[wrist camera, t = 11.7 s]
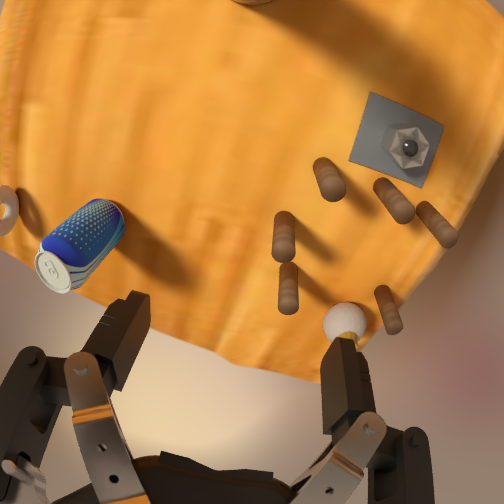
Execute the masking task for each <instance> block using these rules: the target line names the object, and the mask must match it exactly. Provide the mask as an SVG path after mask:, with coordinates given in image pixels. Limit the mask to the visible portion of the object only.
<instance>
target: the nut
mask: <svg viewBox="0 0 504 504" xmlns="http://www.w3.org/2000/svg"><path fill="white" fill-rule="evenodd" d="M380 145H381V147H382V148H383V149H384V150H385V152H386V153H387V154H388V156H389V157H390V158H391V159H392V161H393V162H395V163H396V164H397V165H399V166H400V167H401V168H402V169H405V168H411V167H417V166H422V165H423V163H424V160H425V157H426V155H427V152H428V149H429V146H430V145H429V143H428V142H427V140H426V139H425V137H424V136H423V134H422V133H421V132H420V130H419V129H418V127H415V126H413V125H410V124H407V123H401V124H394V125H387V126H386V129H385V132H384V135H383V138H382V141H381V144H380Z"/></svg>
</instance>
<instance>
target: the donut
mask: <svg viewBox="0 0 504 504" xmlns="http://www.w3.org/2000/svg"><path fill="white" fill-rule="evenodd" d="M2 202H3V203H4V204H5V213H4V216H3V217H2V219H0V236H4V235H6V234H7V233H9V232H10V231H11V230H12V229H13V227H14V225H15V223H16V221H17V218H18V213H19V200H18V197H17V194H16V193H15V191H14V190H13V189H12V188H11V187H9V186H6V185H1V186H0V204H1V203H2Z"/></svg>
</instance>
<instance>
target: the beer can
mask: <svg viewBox="0 0 504 504" xmlns="http://www.w3.org/2000/svg"><path fill="white" fill-rule="evenodd" d="M124 232H125V222H124V217H123V214H122V212H121V210H120V209H119V207H118V206H117V205H116V204H114V203H113V202H111V201H108V200H105V199H101V198H98V199H93V200H91V201H90V202H88V203H87V204H86V205H84V206H83V207H82V208H81V209H79V210H78V211H77V212H75V213H74V214H73V215H72V216H70V217H69V218H68V219H67V220H65V221H64V222H63V223H62V224H61V225H59V226H58V227H57V228H56V229H55V230H53V231H52V232H51V233H50V234H49V235H48V236H46V237H45V238H44V239H43V240H42V242H41V244H40V247H39V251H38V254H37V255H36V257H35V268H36V271H37V273H38V275H39V277H40V278H41V280H42V281H43V282H44V283H45V284H46V285H47V286H48V287H49V288H50V289H52V290H53V291H55V292H58V293H67V292H68V291H69V290H72V289H77V288H79V287H81V286H82V285H83V284H84V282H85V281H86V280H87V279H88V278H89V276H90V275H91V274H92V273H93V271H94V270H95V269H96V268H97V267H98V265H99V264H100V263H101V262H102V261H103V260H104V258H105V257H106V256H107V255H108V254H109V253H110V251H111V250H112V249H113V248H114V247H115V246H116V245H117V243H118V242H119V241H120V240H121V239H122V237H123V235H124Z"/></svg>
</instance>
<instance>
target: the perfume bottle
mask: <svg viewBox="0 0 504 504" xmlns="http://www.w3.org/2000/svg"><path fill="white" fill-rule="evenodd" d="M366 325H367V322H366V316H365V314H364V312H363V311H362V309H361V308H360V307H358V306H357V305H355V304H353V303H349V302H343V303H338V304H336V305H334V306H333V307H331V308H330V309H329V310H328V312H327V313H326V315H325V317H324V322H323V328H324V332H325V334H326V337H327V338H328V339H329V340H330V341H331V342H333V340H334V339H335V338H336V337H342V338H348V339H353V340H354V342H355V347H356V350H357V349H358V344H357V341H359V340H360V339H361V337H362V336H363V335H364V332H365V330H366Z"/></svg>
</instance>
